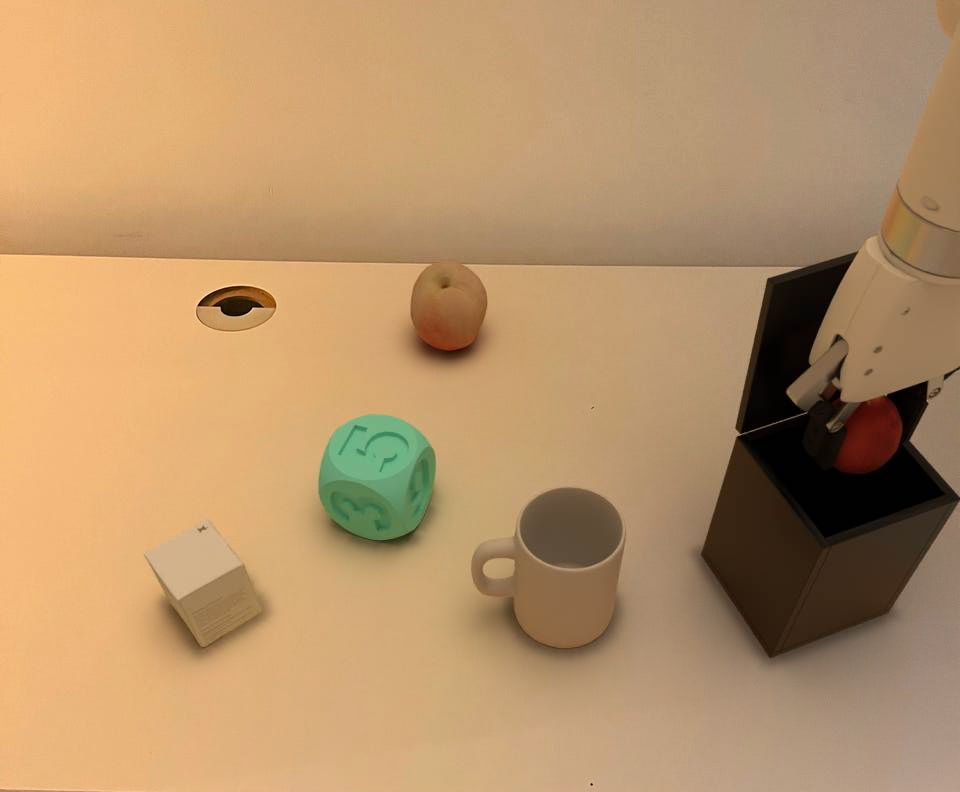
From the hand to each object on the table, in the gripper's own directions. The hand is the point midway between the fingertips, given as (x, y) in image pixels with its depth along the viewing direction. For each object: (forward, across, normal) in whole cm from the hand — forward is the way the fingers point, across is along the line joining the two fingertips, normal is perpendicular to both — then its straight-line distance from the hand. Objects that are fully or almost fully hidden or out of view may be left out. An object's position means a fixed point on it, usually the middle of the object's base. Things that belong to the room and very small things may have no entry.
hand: (855, 441), depth 69 cm
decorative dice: (+15, +32, -20) cm, 41 cm away
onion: (+3, 0, 0) cm, 3 cm away
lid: (-6, +2, -4) cm, 8 cm away
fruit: (+15, +18, -39) cm, 46 cm away
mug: (+15, +23, -4) cm, 28 cm away
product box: (+15, +49, -15) cm, 53 cm away
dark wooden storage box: (+15, +2, +2) cm, 15 cm away
